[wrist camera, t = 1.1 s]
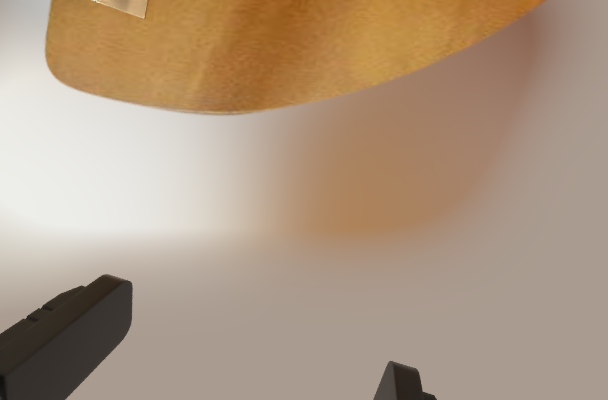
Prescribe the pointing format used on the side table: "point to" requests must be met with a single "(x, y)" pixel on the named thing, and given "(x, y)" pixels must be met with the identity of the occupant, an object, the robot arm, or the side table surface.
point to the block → (127, 6)
